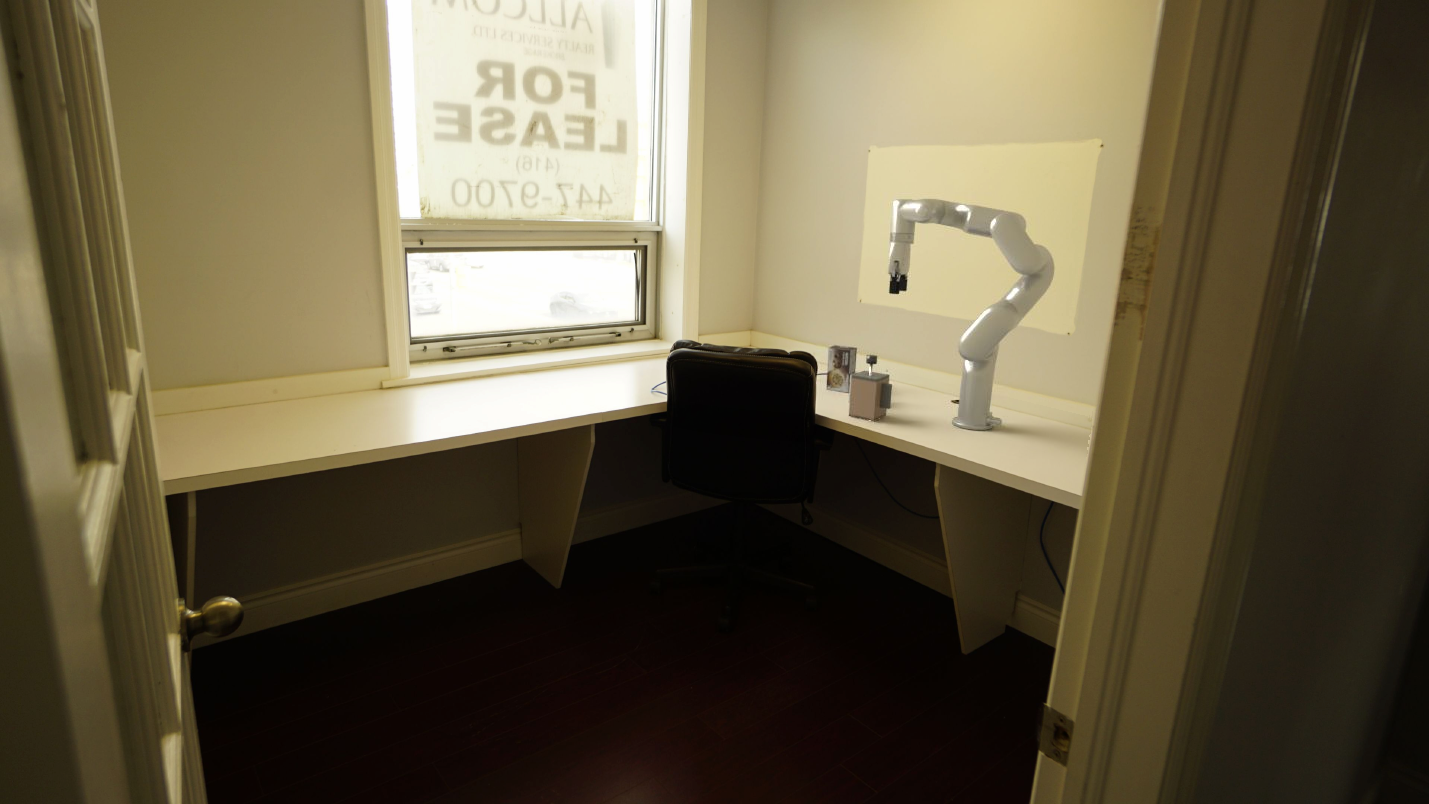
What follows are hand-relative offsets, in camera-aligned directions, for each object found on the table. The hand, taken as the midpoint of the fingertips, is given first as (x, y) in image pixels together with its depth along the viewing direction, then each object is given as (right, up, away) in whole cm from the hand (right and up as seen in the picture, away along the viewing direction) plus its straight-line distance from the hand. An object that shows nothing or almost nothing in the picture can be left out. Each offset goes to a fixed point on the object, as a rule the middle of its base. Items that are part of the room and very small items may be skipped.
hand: (897, 292), depth 252 cm
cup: (-8, -36, +20) cm, 42 cm away
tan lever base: (-8, -41, +2) cm, 42 cm away
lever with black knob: (-9, -37, +2) cm, 38 cm away
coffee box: (-13, -31, +38) cm, 51 cm away
